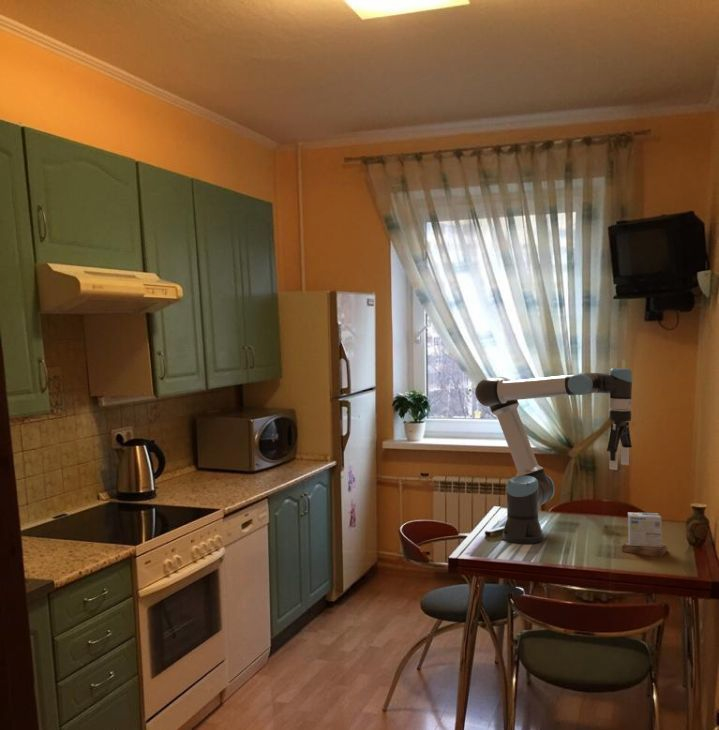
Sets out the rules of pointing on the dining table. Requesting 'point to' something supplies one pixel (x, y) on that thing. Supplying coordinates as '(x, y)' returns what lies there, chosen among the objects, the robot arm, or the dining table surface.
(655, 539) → the light bulb box
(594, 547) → the dining table surface
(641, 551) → the brown flat tray
